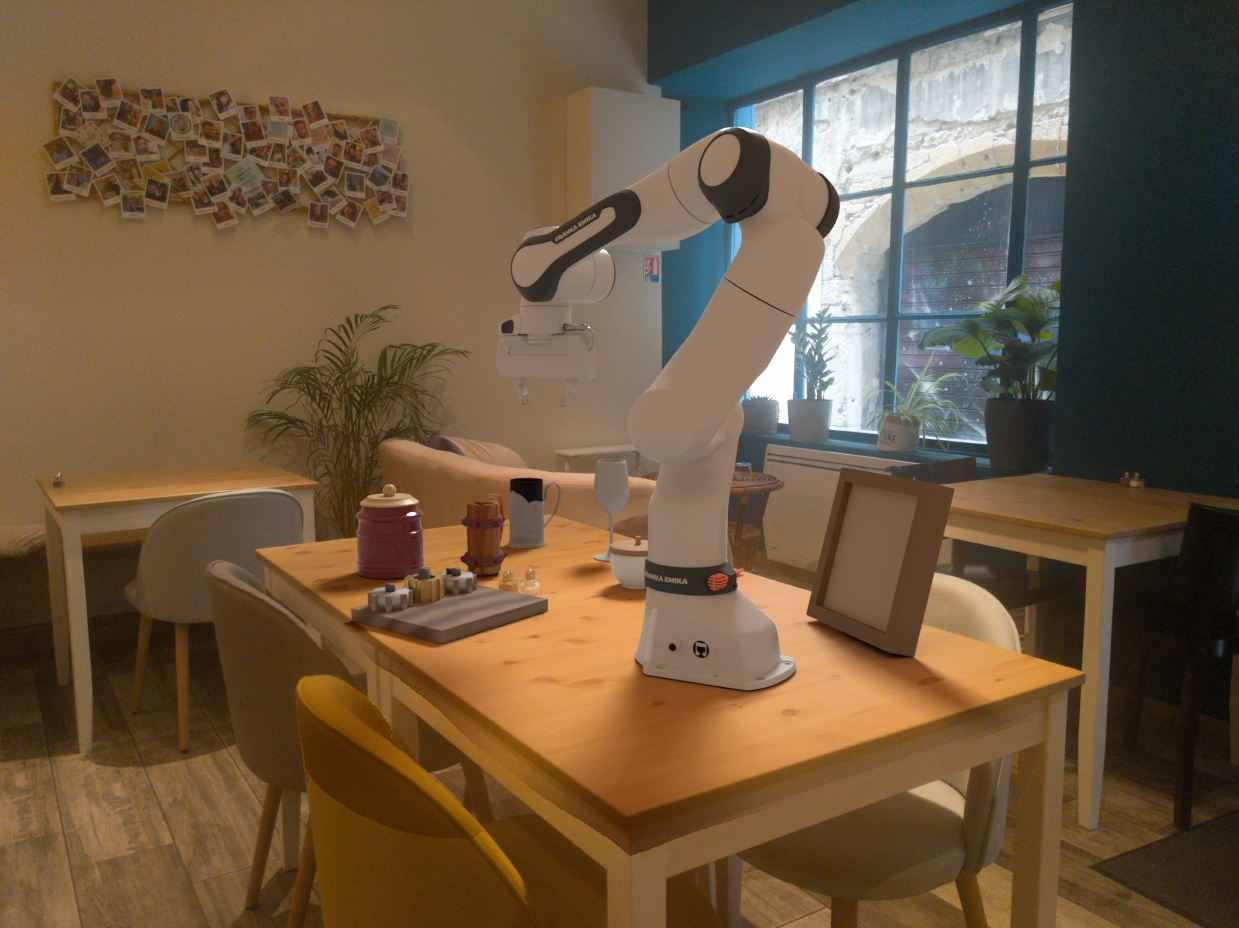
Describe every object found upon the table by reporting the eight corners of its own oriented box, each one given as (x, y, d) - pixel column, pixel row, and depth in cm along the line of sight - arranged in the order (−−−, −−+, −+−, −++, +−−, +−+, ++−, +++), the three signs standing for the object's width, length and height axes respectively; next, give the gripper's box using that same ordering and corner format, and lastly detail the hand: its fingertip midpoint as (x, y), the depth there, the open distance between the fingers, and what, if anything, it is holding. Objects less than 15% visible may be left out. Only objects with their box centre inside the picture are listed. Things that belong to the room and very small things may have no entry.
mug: (495, 579, 181) (495, 502, 180) (455, 577, 183) (454, 500, 181) (518, 564, 195) (518, 492, 194) (481, 562, 197) (480, 490, 195)
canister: (401, 582, 179) (400, 490, 177) (343, 577, 183) (341, 486, 181) (436, 568, 191) (435, 481, 189) (381, 563, 195) (379, 479, 193)
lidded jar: (623, 594, 170) (623, 543, 169) (600, 582, 180) (600, 533, 179) (676, 589, 175) (676, 539, 174) (650, 577, 184) (651, 529, 183)
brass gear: (452, 596, 160) (452, 576, 159) (423, 604, 155) (422, 583, 154) (426, 591, 164) (425, 571, 163) (396, 598, 158) (396, 577, 158)
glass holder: (499, 544, 217) (499, 479, 215) (548, 536, 227) (548, 474, 225) (522, 549, 211) (522, 483, 209) (571, 541, 220) (571, 478, 219)
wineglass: (635, 557, 203) (636, 460, 201) (616, 563, 197) (617, 463, 195) (606, 553, 207) (606, 458, 205) (586, 559, 201) (586, 460, 199)
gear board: (548, 610, 159) (547, 569, 158) (441, 643, 140) (441, 597, 139) (460, 592, 171) (459, 554, 171) (351, 620, 152) (350, 577, 151)
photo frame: (889, 659, 133) (897, 483, 131) (805, 620, 153) (811, 467, 151) (973, 650, 138) (982, 481, 136) (881, 613, 159) (888, 465, 156)
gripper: (605, 324, 158) (604, 406, 160) (514, 326, 170) (515, 403, 172) (581, 322, 153) (581, 408, 155) (490, 325, 165) (490, 404, 167)
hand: (545, 405), depth 163 cm, fingers open, 8 cm apart
